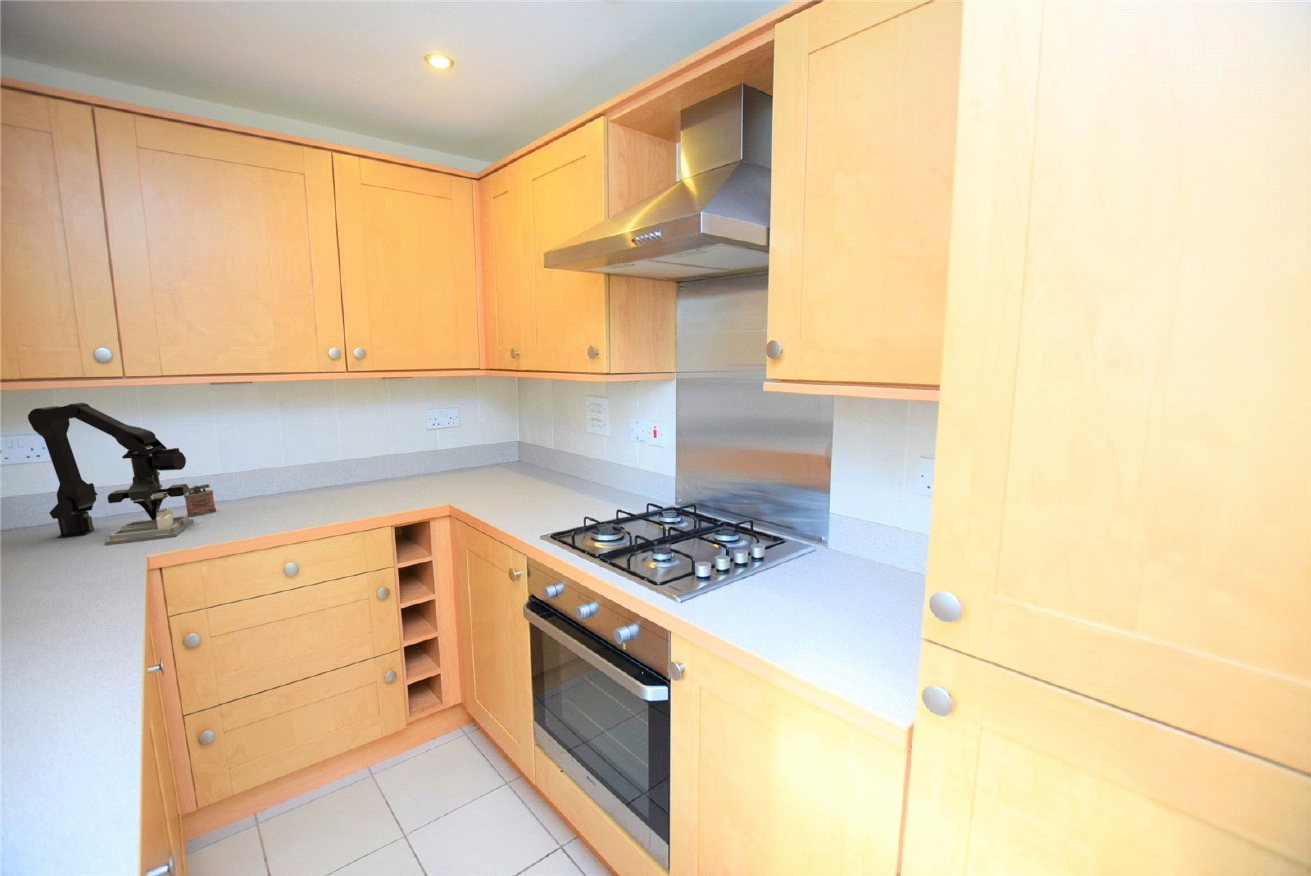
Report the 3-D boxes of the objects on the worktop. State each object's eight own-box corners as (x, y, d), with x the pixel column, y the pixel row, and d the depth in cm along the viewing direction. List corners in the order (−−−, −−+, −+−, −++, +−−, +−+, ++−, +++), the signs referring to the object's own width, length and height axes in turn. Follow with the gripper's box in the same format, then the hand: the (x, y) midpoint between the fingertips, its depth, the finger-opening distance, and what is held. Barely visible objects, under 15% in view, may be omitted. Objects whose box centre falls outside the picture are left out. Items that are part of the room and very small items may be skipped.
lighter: (189, 517, 197) (184, 488, 195) (186, 515, 199) (181, 487, 197) (217, 511, 203) (213, 483, 202) (214, 510, 205) (209, 482, 204)
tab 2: (158, 533, 177) (156, 518, 177) (163, 529, 181) (161, 514, 180) (169, 532, 178) (166, 517, 178) (173, 528, 182) (171, 513, 181)
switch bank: (104, 545, 171) (103, 537, 171) (128, 529, 186) (127, 521, 185) (176, 536, 178) (175, 528, 177) (194, 521, 192) (192, 514, 192)
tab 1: (159, 526, 184) (156, 512, 183) (164, 523, 188) (161, 508, 187) (169, 525, 185) (166, 511, 184) (173, 521, 188) (171, 507, 188)
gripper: (94, 480, 171) (104, 531, 174) (173, 473, 178) (181, 522, 181) (112, 472, 181) (121, 521, 184) (185, 466, 188) (193, 513, 191)
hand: (154, 519), depth 185 cm, fingers closed
